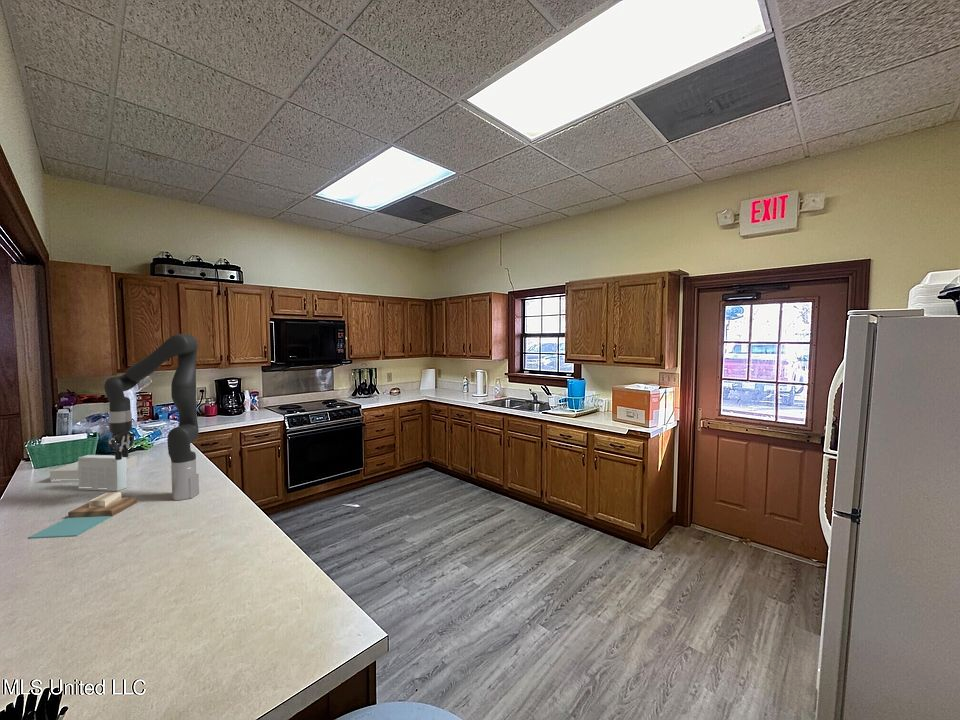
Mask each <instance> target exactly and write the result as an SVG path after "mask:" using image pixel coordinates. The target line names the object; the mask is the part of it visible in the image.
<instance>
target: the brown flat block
mask: <svg viewBox="0 0 960 720" xmlns="http://www.w3.org/2000/svg"><path fill="white" fill-rule="evenodd" d="M137 499H138V498H137V496H132V497H131V496H130V497H129V496H128V497H122V499H121V500H119V501H117V502H115V503H113V504H111V505H109V506H107V507H105V508H89V502H87V503H85V504H83V505H81V506H78V507H77V508H74V509H73V510H70V511H68V512H67V514H68V515H67V516H68V517H67V518H78V517H101V516H111V517H114V516H116V515H117V514H119V513H121V512H123V511H124V510H126V509H128V508H130V507H132V506H133V505H135V504H137V502H138V500H137Z"/></svg>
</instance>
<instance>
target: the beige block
mask: <svg viewBox="0 0 960 720" xmlns="http://www.w3.org/2000/svg"><path fill="white" fill-rule="evenodd" d="M122 498H123V497H122V492H120V491H114V492H104V493H103V494H100V495H99V496H97V497H94V498H93V499H91V500H89V501H88V503H89V508H105V507H107V506H109V505H111V504H113V503H115V502H117V501H119V500H121V499H122Z"/></svg>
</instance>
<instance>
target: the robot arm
mask: <svg viewBox="0 0 960 720" xmlns="http://www.w3.org/2000/svg"><path fill="white" fill-rule="evenodd" d="M198 346H199V345H198V340H197V339H196V337H195V336H193V335H192V334H188V333H184V334H183V333H177V334H173V335H171V336H170V337H168V338H167V339H166V340H165V341H164V342H163V343H162V344H161V345H160V346H158V347H157V348H156V349H155V350H154V351H152V352H151V353H150V354H148V355H147V356H146V357H144V358H143V359H141V360H139V361H138V362H136V363H134V364H132V365H131V366H129V367H128V368H127V369H126V370H125V373H123V374H122V375H120V376H118V375H117V376H112V377H109V378H107V379H106V381H105V382H104V388H103V389H104V392H105V395H106V398H107V400H108V402H109V404H108V405H109V415H108V417H109V418H108V423H109V425H108V426H109V432H110V433H111V434H112V435H111V438H109V439H107V440H106V444H107V446H108V448H109V451H110V452H114V456H115V459H116V460H121V459H122V457H128V456H130V455H129V449H130V447H132V446H133V445H134V441H135V436H136V434H135V433H134V432H131V431H132V429H133V418H132V415H133V414H132V411H131V408H132V407H131V399H130V398H129V397H128V396H125V393H124V392H126V391H129V390H131V389H133V388H135V386H137V385H138V384H139V383H140V382H141V381H142V380H144V379H145V378H147V377H149V376H150V375H151V374H153V373H155V371H156V370H158V369H159V368H160V367H161V365H163V364H164V363H165V362H166V361H168V360H170V359H172V358H174V357H176V356H177V367H176V369H175V372H174V374H173V376H172V380H171V384H170V385H171V390H170V392H171V400H172V403H173V404H174V405H175V408H176V409H177V412H178V417H179V419H178V420H179V423H178V426H176V427H174V428H172V429H171V430H170V431H169V432H168V434H167V442H166V443H167V452H168V457H169V458H170V461H171V462H170V464H171V465H170V468H171V497H172V500H173V501H183V500H189V499H193V498H195V497H196V496H197V495H199V494H200V481H199V480H200V479H199V475H200V474H199V473H197V453H196V452H195V451H192V450H191V444H192V443H194V442H195V441H197V439H198V437H199V433H200V431H199V423H198V418H197V416H198V415H197V369H196V368H197V367H196V366H197V364H196V363H197V355H198Z"/></svg>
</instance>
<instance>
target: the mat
mask: <svg viewBox="0 0 960 720" xmlns="http://www.w3.org/2000/svg"><path fill="white" fill-rule="evenodd" d="M110 518H112V516H101V517H78V518H68V517H66V518H64V519H63V520H61V521H58V522H57V523H54V524H52V525H50V526H48V527H46V528H44V529H42V530H40V531H38V532H35V533H34V534H32V535H30V536H28V537H27V539H40V538H41V539H44V538H45V539H47V538H64V537H78V536H80V535H81V534H82V535H83V533H85V532H87V531H88V530H90V529H92V528H94V527H96V526H98V525H99V524H102V523H103V522H104V521H107V520H108V519H110Z"/></svg>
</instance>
